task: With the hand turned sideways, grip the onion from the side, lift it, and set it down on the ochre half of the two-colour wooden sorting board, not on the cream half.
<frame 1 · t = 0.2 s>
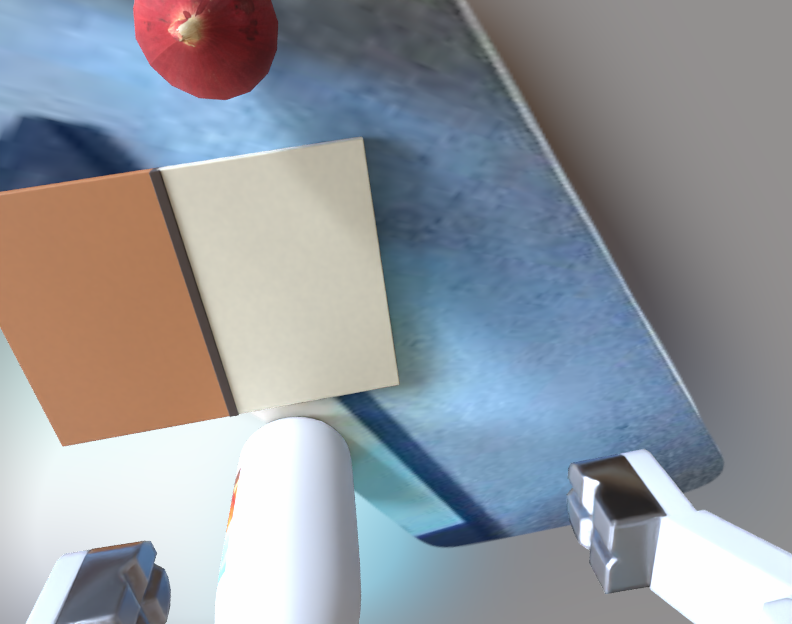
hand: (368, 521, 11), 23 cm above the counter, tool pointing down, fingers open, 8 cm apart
onion: (222, 28, 27), on the counter
sorting board: (201, 301, 33), on the counter
milk bottle: (296, 455, 39), on the counter
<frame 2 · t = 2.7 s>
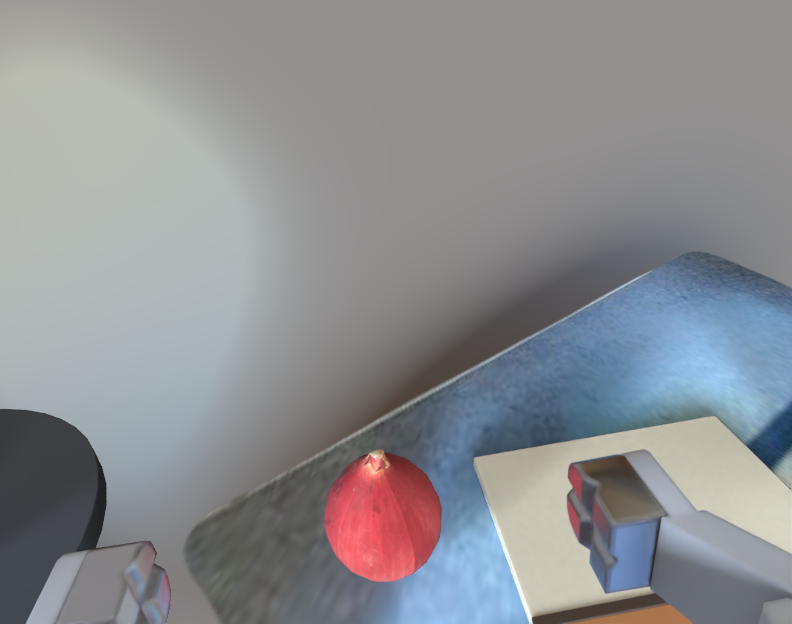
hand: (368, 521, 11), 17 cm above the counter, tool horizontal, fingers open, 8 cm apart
onion: (392, 567, 29), on the counter
sorting board: (699, 602, 26), on the counter
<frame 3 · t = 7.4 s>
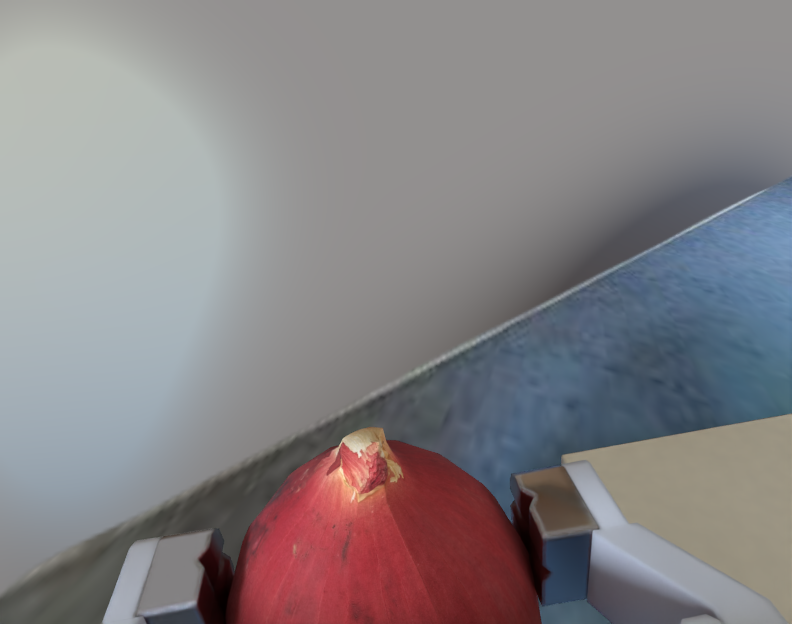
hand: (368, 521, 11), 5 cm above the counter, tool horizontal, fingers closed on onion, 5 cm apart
when the fingers open (6 cm above the counter, at t = 15.8 s): onion stays where it is, resting on sorting board.
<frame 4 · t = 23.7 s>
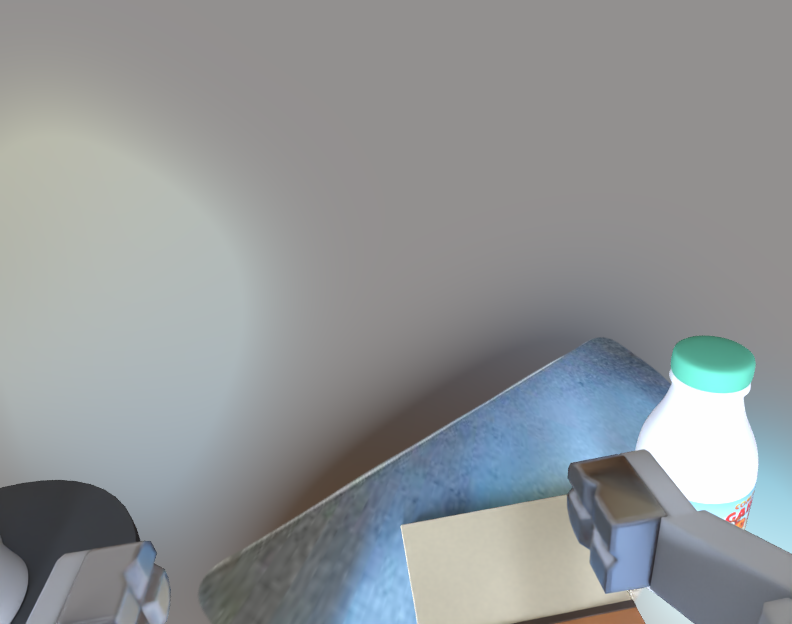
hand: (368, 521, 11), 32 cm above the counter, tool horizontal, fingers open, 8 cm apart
milk bottle: (674, 564, 44), on the counter
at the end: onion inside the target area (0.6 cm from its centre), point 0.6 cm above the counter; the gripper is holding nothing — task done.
